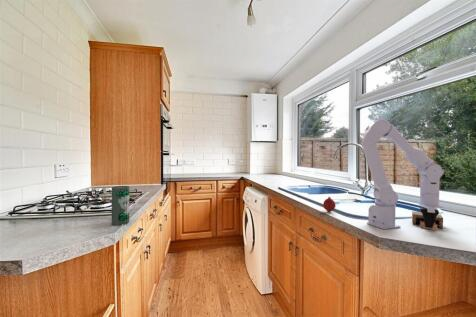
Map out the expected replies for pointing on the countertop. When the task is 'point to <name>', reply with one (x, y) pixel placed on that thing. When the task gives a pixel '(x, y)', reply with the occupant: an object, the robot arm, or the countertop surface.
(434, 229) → the tile
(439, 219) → the shelf
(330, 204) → the onion
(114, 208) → the can
